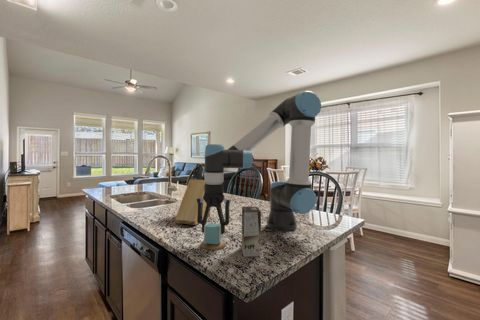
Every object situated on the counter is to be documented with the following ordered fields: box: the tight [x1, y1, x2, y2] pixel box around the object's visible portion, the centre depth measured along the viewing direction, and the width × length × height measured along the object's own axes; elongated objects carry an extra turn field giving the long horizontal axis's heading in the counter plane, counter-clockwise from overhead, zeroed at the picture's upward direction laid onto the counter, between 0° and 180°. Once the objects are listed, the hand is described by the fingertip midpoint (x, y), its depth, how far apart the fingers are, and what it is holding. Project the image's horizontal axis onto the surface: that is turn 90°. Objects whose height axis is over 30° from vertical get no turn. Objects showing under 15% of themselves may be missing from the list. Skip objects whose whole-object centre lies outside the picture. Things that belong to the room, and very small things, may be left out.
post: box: [200, 239, 227, 251], centre depth 92 cm, size 10×10×8 cm
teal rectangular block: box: [205, 222, 221, 244], centre depth 92 cm, size 5×5×7 cm
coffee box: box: [241, 206, 262, 258], centre depth 86 cm, size 9×6×16 cm
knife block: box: [174, 163, 211, 226], centre depth 133 cm, size 11×35×31 cm, turn 170°
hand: (213, 241), depth 92 cm, fingers closed on teal rectangular block, 5 cm apart
